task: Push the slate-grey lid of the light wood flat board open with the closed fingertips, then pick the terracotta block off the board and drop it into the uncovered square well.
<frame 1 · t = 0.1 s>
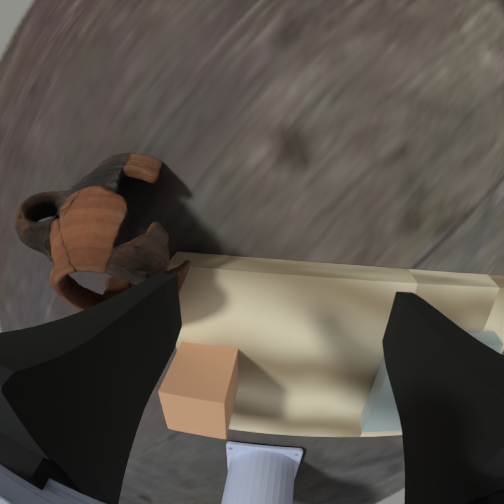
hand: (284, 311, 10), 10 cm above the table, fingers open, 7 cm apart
brown broken pot: (124, 219, 21), on the table, touching light wood flat board
lid: (430, 386, 20), point 3 cm above the table, slide at 0.0 cm
block: (210, 365, 22), point 2 cm above the table, touching light wood flat board
light wood flat board: (351, 359, 23), on the table
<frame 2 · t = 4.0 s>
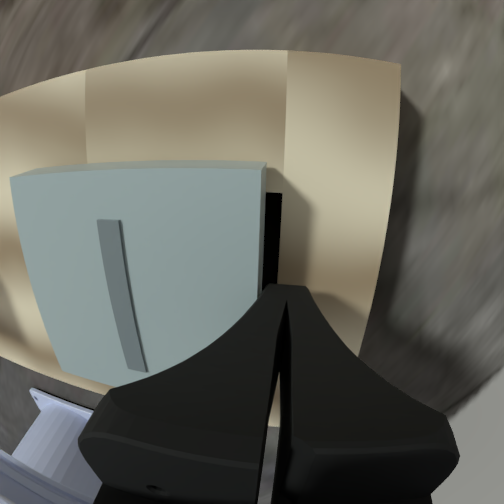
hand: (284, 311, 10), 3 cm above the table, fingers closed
lid: (131, 293, 11), point 3 cm above the table, slide at 1.5 cm, touching gripper
light wood flat board: (81, 250, 14), on the table
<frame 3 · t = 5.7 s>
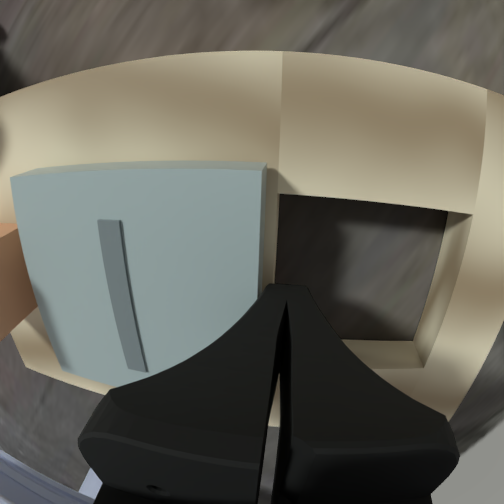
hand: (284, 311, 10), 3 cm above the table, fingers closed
lid: (132, 293, 11), point 3 cm above the table, slide at 8.3 cm, touching gripper
block: (9, 260, 13), point 2 cm above the table, touching light wood flat board
light wood flat board: (215, 261, 13), on the table
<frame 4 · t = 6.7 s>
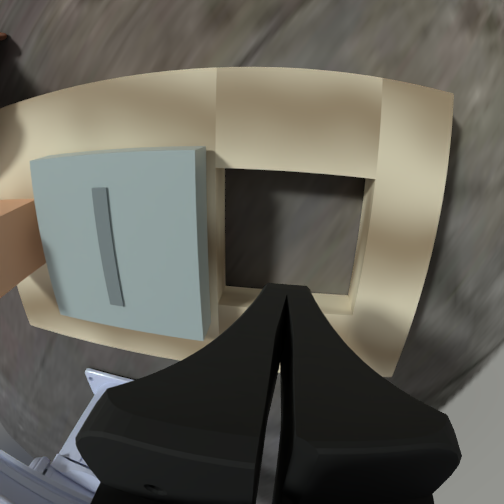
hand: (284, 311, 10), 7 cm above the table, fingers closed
lid: (115, 244, 15), point 3 cm above the table, slide at 8.3 cm
block: (23, 229, 17), point 2 cm above the table, touching light wood flat board
light wood flat board: (180, 225, 17), on the table
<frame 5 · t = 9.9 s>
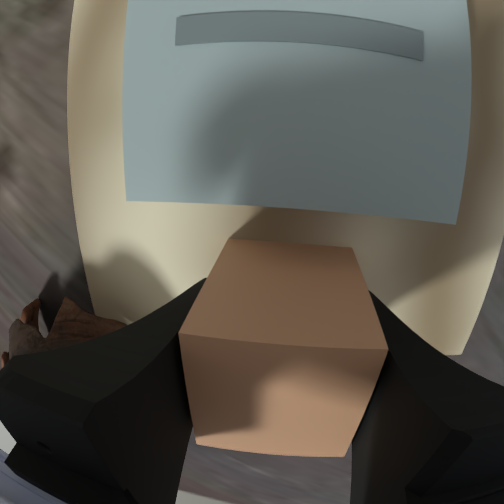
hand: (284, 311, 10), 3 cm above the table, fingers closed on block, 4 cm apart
brown broken pot: (103, 353, 17), on the table, touching light wood flat board
lid: (300, 35, 7), point 3 cm above the table, slide at 8.3 cm
block: (285, 296, 11), point 2 cm above the table, touching gripper, light wood flat board
light wood flat board: (299, 1, 9), on the table
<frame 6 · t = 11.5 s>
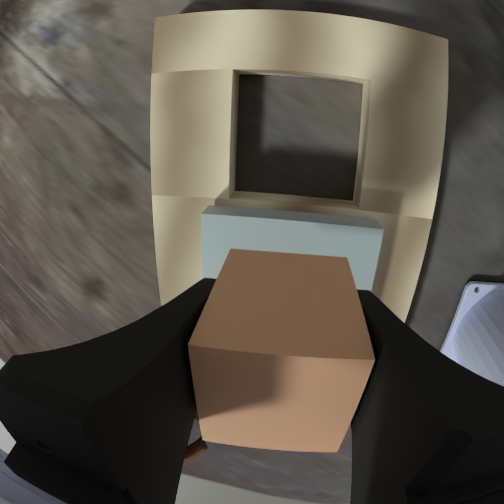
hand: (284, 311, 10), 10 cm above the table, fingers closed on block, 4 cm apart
brown broken pot: (165, 395, 28), on the table, touching light wood flat board
lid: (286, 294, 18), point 3 cm above the table, slide at 8.3 cm
block: (284, 302, 12), point 9 cm above the table, touching gripper
light wood flat board: (291, 234, 20), on the table
when the fingers open (3 cm above the table, at t = 13.5 s): block drops 2 cm, resting in light wood flat board.
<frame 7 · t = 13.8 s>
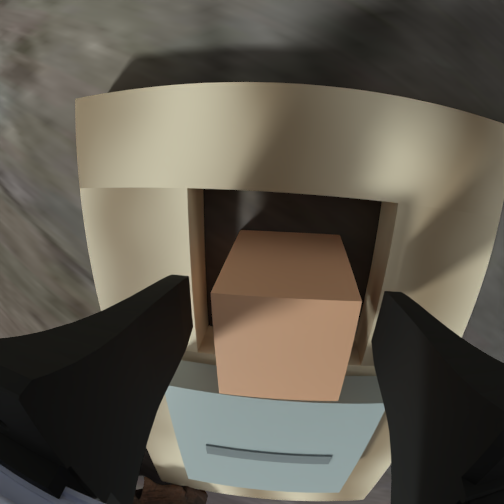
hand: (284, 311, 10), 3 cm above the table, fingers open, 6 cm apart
brown broken pot: (156, 474, 24), on the table, touching light wood flat board
lid: (269, 444, 14), point 3 cm above the table, slide at 8.3 cm
block: (287, 276, 14), resting in light wood flat board
light wood flat board: (278, 370, 16), on the table
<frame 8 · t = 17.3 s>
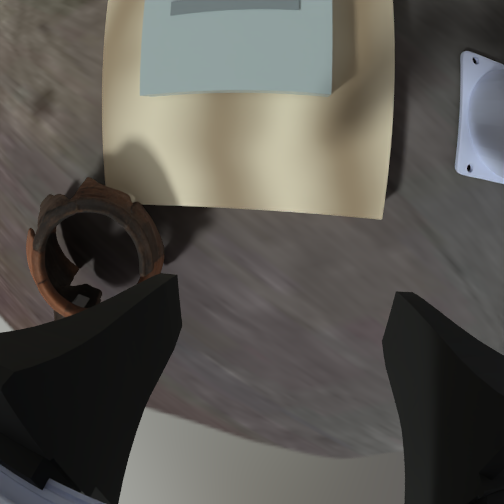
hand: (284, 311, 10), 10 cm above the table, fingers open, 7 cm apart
brown broken pot: (106, 247, 22), on the table, touching light wood flat board
lid: (235, 7, 12), point 3 cm above the table, slide at 8.3 cm
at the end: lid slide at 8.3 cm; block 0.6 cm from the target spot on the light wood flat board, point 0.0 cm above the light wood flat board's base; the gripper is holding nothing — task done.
